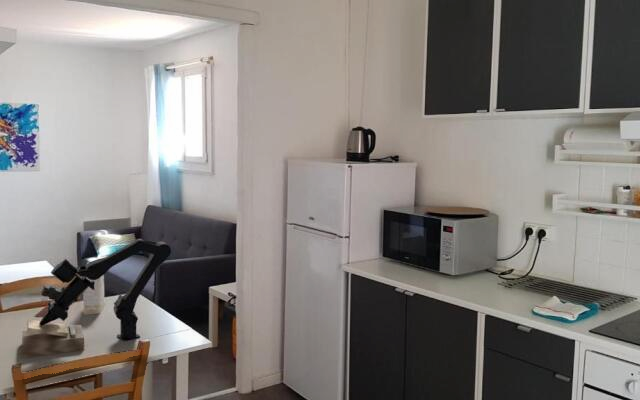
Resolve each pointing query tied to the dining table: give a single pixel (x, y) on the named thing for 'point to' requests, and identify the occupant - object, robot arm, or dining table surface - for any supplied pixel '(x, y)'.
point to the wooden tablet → (43, 312)
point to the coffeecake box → (94, 297)
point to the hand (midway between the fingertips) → (40, 324)
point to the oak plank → (47, 328)
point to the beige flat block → (52, 342)
